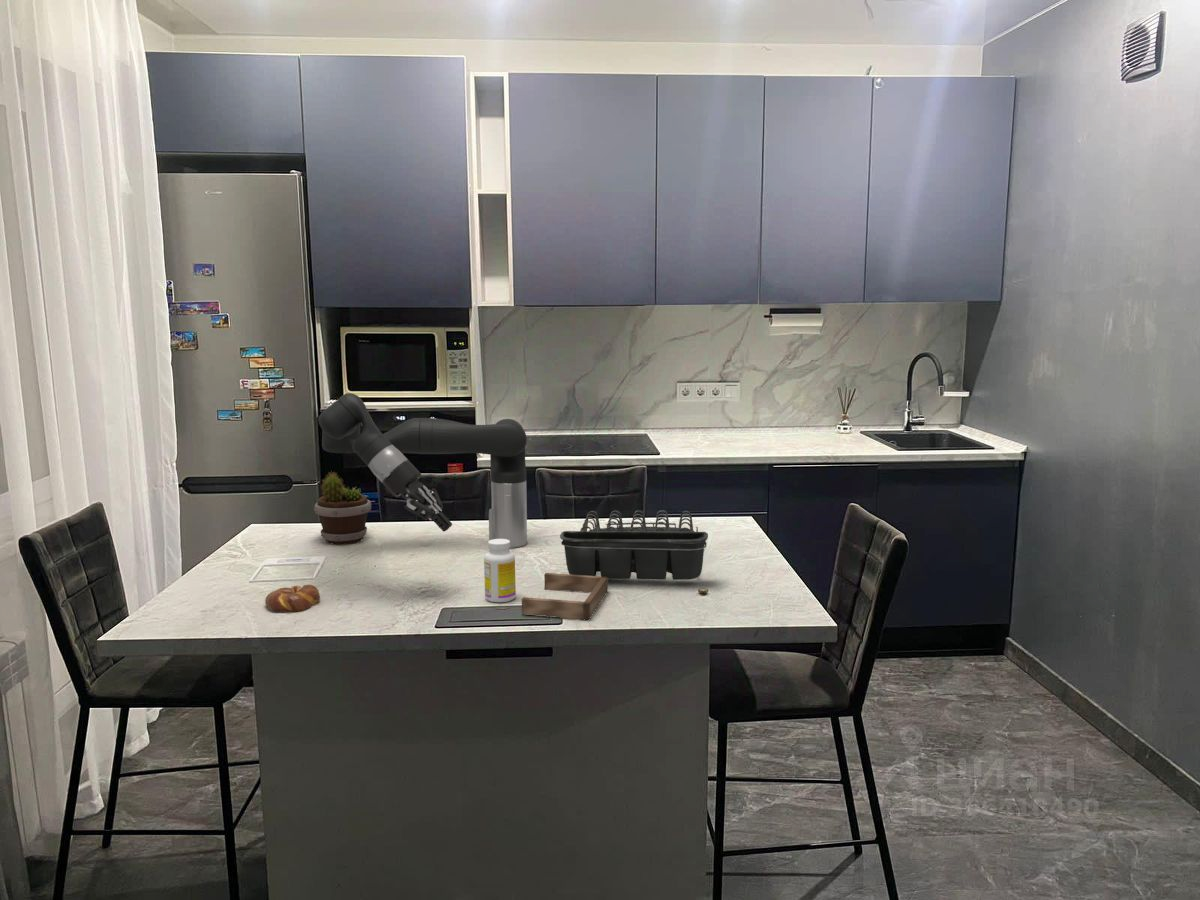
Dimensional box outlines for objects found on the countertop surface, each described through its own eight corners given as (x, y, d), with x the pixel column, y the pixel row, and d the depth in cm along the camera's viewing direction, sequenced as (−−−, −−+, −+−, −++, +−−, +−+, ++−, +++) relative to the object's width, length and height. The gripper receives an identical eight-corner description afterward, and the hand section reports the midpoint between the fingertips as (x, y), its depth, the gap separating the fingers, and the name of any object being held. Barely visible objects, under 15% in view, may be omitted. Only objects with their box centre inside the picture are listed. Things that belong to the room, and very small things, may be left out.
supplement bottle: (520, 595, 196) (519, 538, 194) (507, 605, 190) (506, 546, 188) (493, 592, 198) (492, 536, 196) (479, 601, 192) (478, 543, 190)
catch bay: (521, 615, 184) (521, 598, 183) (546, 587, 201) (545, 572, 201) (588, 620, 181) (588, 604, 180) (607, 592, 198) (607, 576, 198)
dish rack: (557, 586, 203) (557, 535, 201) (581, 536, 246) (580, 493, 244) (707, 591, 200) (708, 539, 198) (704, 539, 243) (705, 496, 241)
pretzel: (298, 593, 198) (298, 577, 198) (333, 601, 193) (332, 585, 192) (253, 608, 188) (252, 591, 188) (288, 617, 183) (287, 600, 182)
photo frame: (326, 555, 224) (314, 577, 207) (326, 559, 224) (315, 581, 207) (265, 557, 222) (248, 579, 205) (266, 562, 222) (249, 584, 205)
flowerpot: (347, 530, 251) (344, 460, 248) (384, 539, 242) (381, 466, 239) (304, 541, 240) (300, 468, 236) (340, 550, 231) (337, 475, 228)
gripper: (396, 476, 202) (448, 531, 201) (369, 487, 189) (425, 547, 189) (417, 454, 200) (470, 510, 199) (391, 464, 187) (448, 524, 187)
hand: (448, 528), depth 194 cm, fingers closed
